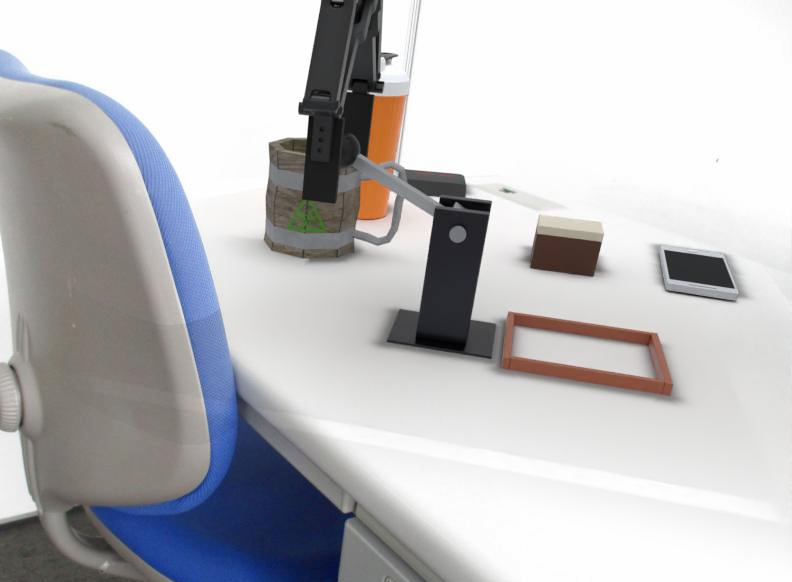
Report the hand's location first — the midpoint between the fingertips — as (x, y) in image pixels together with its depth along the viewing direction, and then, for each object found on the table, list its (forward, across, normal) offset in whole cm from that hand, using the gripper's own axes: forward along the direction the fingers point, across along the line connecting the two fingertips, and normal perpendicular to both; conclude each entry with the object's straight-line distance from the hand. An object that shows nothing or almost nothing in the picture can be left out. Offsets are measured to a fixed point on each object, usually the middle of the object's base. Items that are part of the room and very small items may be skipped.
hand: (336, 182), depth 76 cm
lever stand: (+13, 0, +11) cm, 17 cm away
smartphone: (+13, -32, +37) cm, 51 cm away
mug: (+14, -21, -4) cm, 25 cm away
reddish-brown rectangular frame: (+13, 0, +23) cm, 27 cm away
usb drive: (+14, -58, +3) cm, 59 cm away
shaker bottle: (+14, -41, -4) cm, 43 cm away
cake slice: (+13, -29, +22) cm, 39 cm away
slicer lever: (+1, 0, +5) cm, 5 cm away
